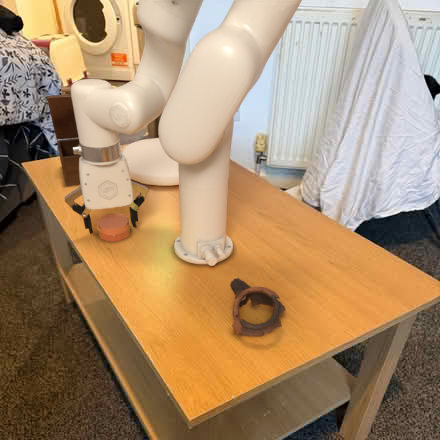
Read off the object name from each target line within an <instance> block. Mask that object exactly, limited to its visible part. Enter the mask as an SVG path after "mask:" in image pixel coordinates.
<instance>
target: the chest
mask: <svg viewBox="0 0 440 440" xmlns="http://www.w3.org/2000/svg"><path fill="white" fill-rule="evenodd" d="M56 143H57V144H56V145H57V150H58V155H59V160H60V164H61V169H62V174H63V178H64V182H65V187H72V186H79V185H80V175H79V158H80V157H81V156H80V155H78V154H74V152H73V147H77V146H78V144H80V143H79V138H69V139H58V140H57V139H56ZM80 186H81V185H80Z"/></svg>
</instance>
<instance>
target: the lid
mask: <svg viewBox="0 0 440 440" xmlns="http://www.w3.org/2000/svg"><path fill="white" fill-rule="evenodd" d="M71 86H72V85H70V86H69V85H68V86H60V91H61V92H60V93H61V94H54V95H53V94H52V95H46V100H47V105H48V109H49V114H50V117H51V122H52V127H53V131H54V135H55V140H56V141H57V140H66V139H77V138H79V136H78V131H77V125H76V119H75V114H74V108H73V103H72V97H71Z"/></svg>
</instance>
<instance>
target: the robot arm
mask: <svg viewBox="0 0 440 440" xmlns="http://www.w3.org/2000/svg"><path fill="white" fill-rule="evenodd" d="M302 1H303V0H233V1H232V3H231V5H230V7H229V9H228V10H227V13H226V15H225V16H224V19H222V21H221V24H220V25H219V26H218V27H216V28H214V29H213V30H211V31H209V32H207V33H206V34H204V35H203V36H202V37H201V38H200V39H199V40H198V42H197V43H196V44H195V45H194V47H193V49H192V50H191V52H190V53H189V55H188V57H187V59H186V61H185V63H184V58H185V54H186V51H187V44H188V40H189V37H190V35H191V32H192V30H193V27H194V25H195V23H196V20H197V18H198V15H199V12H200V9H201V7H202V6H203V4H204V0H139V2H138V5H137V9H136V19H137V22H138V24H139V25H140V26H141V29H142V31H143V34H144V44H143V45H144V46H143V50H142V54H141V58H140V61H139V63H138V67H137V70H136V72H135V75H134V77H133V79H132V80H130V81H129V82H126V83H125V84H123V85H120V86H117V87H113V85H112V84H111V83H110V82H108V81H107V80H104V79H99V78H84V79H80V80H79V79H78V80H77V81H74V82H73V83H72V84H71V85H70V86H71V97H72V103H73V108H74V114H75V119H76V125H77V131H78V136H79V143H80V144H78V146H77V147H73V152H74V154H78V155H80V156H81V157H80V158H79V175H80V186H78V187H77V188H75V189H73V190H72V191H71V192H69V193H68V194H66V195H65V196H64V202H65V203H66V204H67V205H68V206H69V208H70V209H71V210H72V211H73V212H75V213H77V214H78V215H79V216H81V218H82V219H83V225H84V229H85V230H88V232H89V234H90V235H92V234H93V233H94V229H93V225H92V220H91V219H92V218H91V215H90V213H91V211H100V210H108V209H115V208H116V209H117V208H123V207H128V210H129V217H130V223H131V225H132V228H137V223H138V222H139V212H138V211H139V210H140V207H142V205H143V204H144V203H145V199H146V198H147V196H148V194H149V191H150V190H149V188H148V186H146V185H144V184H142V183H139V182H137V181H134V180H133V181H132V179H131V176H130V171H129V167H128V163H127V160H126V157H125V156H124V155H123V154H122V153H121V152H122V149H121V141H120V134H123V135H135V134H137V133H139V132H140V131H142V130H143V129H144V128H146V127H147V126H148V125H149V124H150V123H152V122H153V121H155V120H156V119H157V118H159V117H160V118H159V122H158V128H157V131H158V132H157V135H158V138H159V140H160V143H161V146H162V148H163V150H164V151H165V153H166V154H167V155H168V156H169V157H170V158H171V159H172V160H174V161H176V162H178V163H179V165H178V171H179V185H178V198H179V222H180V224H179V225H180V235H178V236H177V237H176V238H175V239H174V243H173V251H174V253H175V254H176V256H177V257H178V258H179V259H181V260H183V261H184V262H187V263H191V264H194V265H208V266H210V267H214V266H215V265H216V264H218V263H219V262H223V261H225V260H227V259H228V258H229V257H230V256H231V255H232V253H233V249H234V243H233V240H232V239H231V238H230V237H229V236H228V235H227V225H228V224H227V221H228V201H229V200H228V198H229V180H230V179H229V178H230V162H231V152H232V151H231V149H232V143H233V135H234V123H235V115H236V113H237V112H238V110H239V108H240V106H241V105H242V104H243V102H244V100H245V99H246V97H247V96H248V94H249V93H250V91H251V90H252V89H253V88H254V87H255V85H256V84H257V83H258V81H259V80H260V78H261V76H262V74H263V72H264V70H265V67H266V65H267V63H268V61H269V60H270V58H271V56H272V54H273V52H274V51H275V48H276V47H277V45H278V44H279V42H280V40H281V39H282V37H283V36H284V35H285V32H286V30H287V28H288V26H289V24H290V22H291V21H292V19H293V17H294V16H295V14H296V12H297V10H298V9H299V7H300V5H301V3H302ZM183 63H184V65H183ZM182 66H183V68H182ZM134 191H137V192H139V194H138V195H137V196H136V197H134ZM80 197H82V201H83V203H82V204H81V205H80V204H79V203H78V202H76V200H77V199H78V198H80Z"/></svg>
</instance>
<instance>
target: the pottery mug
mask: <svg viewBox="0 0 440 440" xmlns="http://www.w3.org/2000/svg"><path fill="white" fill-rule="evenodd" d="M229 286H230V289H231V291H232V292H233V294H234V296H235V297H234V299H235V300H234V302H233V306H232V317H233V324H232V325H231V326H232V329H233V331H234V332H235V333H236V334H237V335H242V336H245V337H256V338H257V337H264V336H265V335H268V334H271V333H272V332H273V331H274V330H277V329H278V328H282V322H281V319H280V316H281V315H283V314H284V312H285V311H286V306H285V305H284V304H283V303H282V302H281V301H280V300H279V299H281V297H280V295H279V294H278V293H277V292H275V291H274V290H272V289H270V288H268V287H264V286H250V285H249V284H247V282H245V280H242V279H240V278H239V277H237V278H236V277H235V278H234V279H233V280H231V282H230V285H229ZM249 300H250V302H251V306H252V307H255V306H258V305H265V306H269V307H271V308H272V309H273V314H272V315H271V317H270V318H269V319H268V320H266V321H265V322H261V323H251V322H248V321H247V320H244V319H243V318H240V308H242V307H243V306H245V305H247V303H248V301H249Z"/></svg>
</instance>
